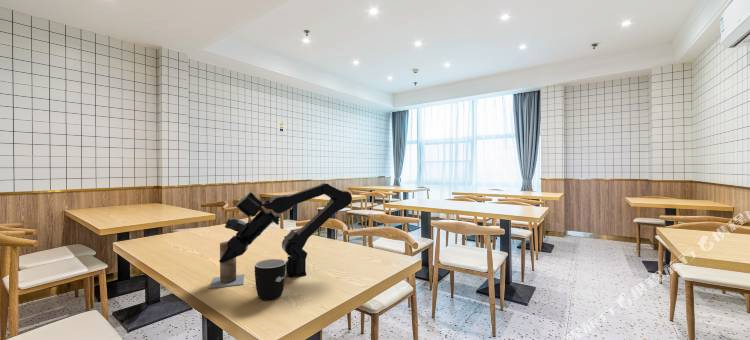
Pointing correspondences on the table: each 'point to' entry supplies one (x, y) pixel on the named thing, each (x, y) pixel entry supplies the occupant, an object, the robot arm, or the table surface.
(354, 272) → the table surface
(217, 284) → the mat
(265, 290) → the mug
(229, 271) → the post
